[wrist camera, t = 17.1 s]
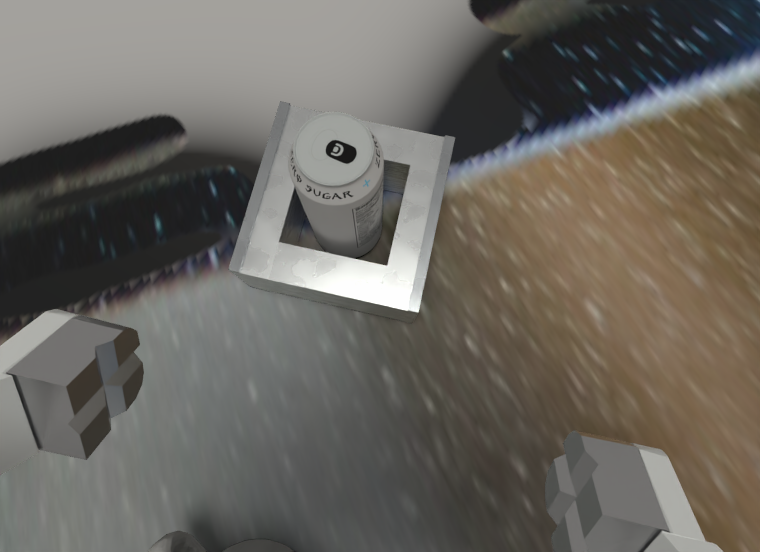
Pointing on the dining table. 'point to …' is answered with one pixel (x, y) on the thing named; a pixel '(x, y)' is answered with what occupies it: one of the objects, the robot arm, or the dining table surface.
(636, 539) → the robot arm
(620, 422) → the dining table surface
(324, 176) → the energy drink can
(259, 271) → the frame
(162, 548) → the coffee mug
